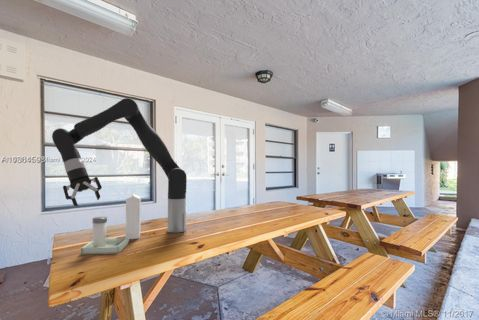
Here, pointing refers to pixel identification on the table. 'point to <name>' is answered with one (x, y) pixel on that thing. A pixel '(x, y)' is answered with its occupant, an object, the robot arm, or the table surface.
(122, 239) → the ball
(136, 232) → the milk
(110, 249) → the tray
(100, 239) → the shaker
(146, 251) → the table surface
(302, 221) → the table surface
